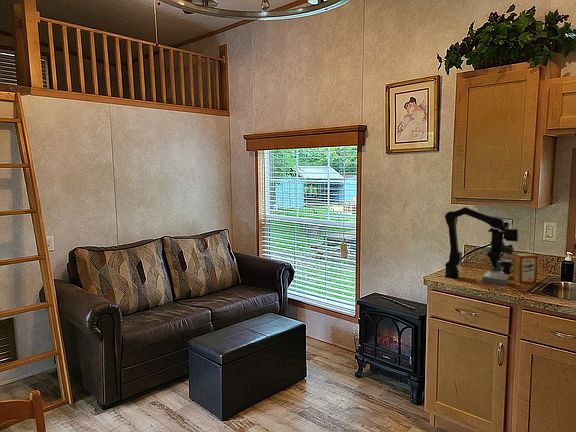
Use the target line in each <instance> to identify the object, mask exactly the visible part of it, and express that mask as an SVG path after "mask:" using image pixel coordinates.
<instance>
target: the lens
mask: <svg viewBox="0 0 576 432" xmlns="http://www.w3.org/2000/svg"><path fill="white" fill-rule="evenodd" d="M501 259H502V257H501V258H499V259H498V262H497V266H496V268H494V267H493V265H492V263H491V262H490V271H495V272H500V271H501Z"/></svg>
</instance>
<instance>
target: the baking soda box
mask: <svg viewBox="0 0 576 432" xmlns="http://www.w3.org/2000/svg"><path fill="white" fill-rule="evenodd" d="M513 254H514V255H513V264H514V265H513V271H514V272H512V273H513V274H512V276H513V277H512V281H514V282H516V283H518V284H537V278H538V276H537V273H538V257H539V256H538V255H535V254H532V253H513Z"/></svg>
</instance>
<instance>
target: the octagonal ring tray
mask: <svg viewBox="0 0 576 432" xmlns="http://www.w3.org/2000/svg"><path fill="white" fill-rule="evenodd" d="M509 280H510V274H509V275H508V274H505V275H504V272H502V271H500V272H495V271H491V270H488V271H487V272H485V273H484V274H482V280H481V281H482V282H481V283H482V284H483V283H484V284H489V285H491V284H492V285H497V286H498V285H499V286H507V285H508V284H509V283H510V282H509Z"/></svg>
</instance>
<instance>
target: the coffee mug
mask: <svg viewBox="0 0 576 432" xmlns="http://www.w3.org/2000/svg"><path fill="white" fill-rule="evenodd" d="M512 266H514V263H512V260H510V259H506V258H501V271H502V272H504V275H505V274H508V275H509V276H510V274H511V273H513V272H514V270H512V271H511V267H512Z"/></svg>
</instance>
